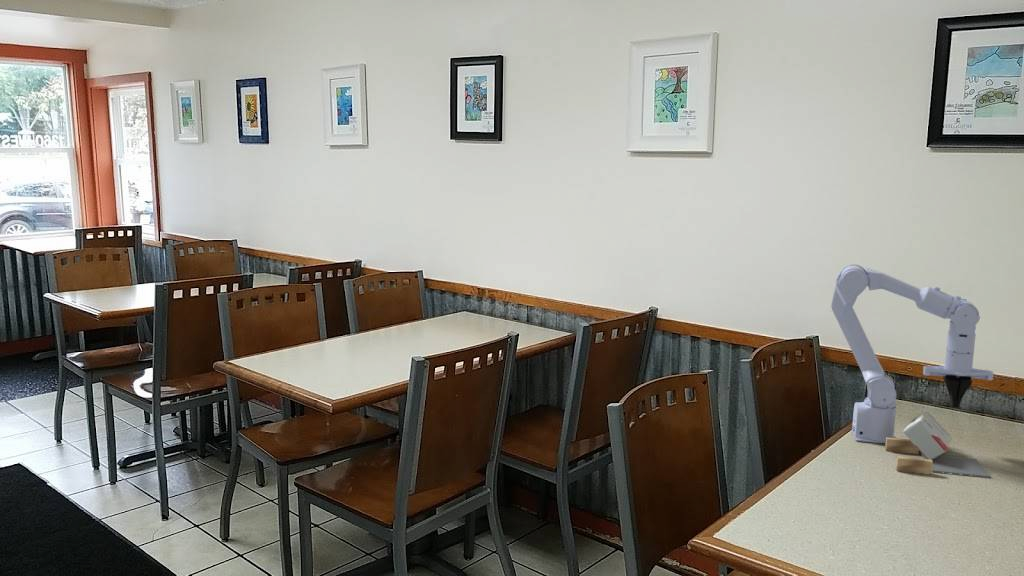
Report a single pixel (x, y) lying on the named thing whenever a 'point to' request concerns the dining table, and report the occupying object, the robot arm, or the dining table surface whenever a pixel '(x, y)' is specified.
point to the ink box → (928, 435)
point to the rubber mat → (958, 466)
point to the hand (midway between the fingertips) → (954, 406)
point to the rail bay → (905, 462)
